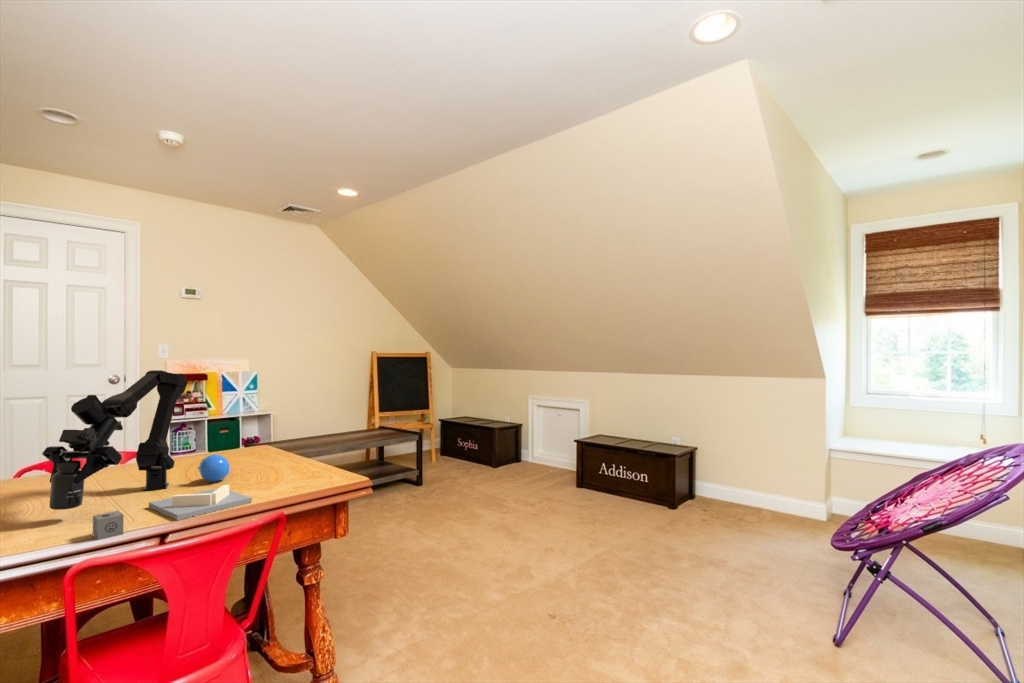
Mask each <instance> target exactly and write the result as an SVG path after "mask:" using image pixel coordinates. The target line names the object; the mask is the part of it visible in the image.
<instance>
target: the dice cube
mask: <svg viewBox="0 0 1024 683" xmlns="http://www.w3.org/2000/svg"><path fill="white" fill-rule="evenodd" d="M124 517H125V516H124V513H122V512H120V511H119V510H115V511H110V512H106V513H105V512H104V513H99V514H95V515H92V536H93V535H94V536H95V537H96V538H97V539H98V540H97V539H96V538H95V537H94V536H93V537H94V538H95V539H96V540H97V541H100V540H106V539H109V538H114V537H117V536H122V535H124Z"/></svg>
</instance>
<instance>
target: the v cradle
mask: <svg viewBox="0 0 1024 683" xmlns="http://www.w3.org/2000/svg"><path fill="white" fill-rule="evenodd" d="M249 502H252V503H253V498H252V496H248V495H245V494H242V493H239V492H236V491H233V490H230V484H223V485H221V486H220V487H217V488H212V489H207V490H202V491H197V492H193V493H188V494H174V495H173V496H172V497H169V498H164V499H160V500H159V499H158V500H155V501H154V500H153V501H149V502H148V508H149V509H151V508H152V509H151V510H153V509H154V510H153V511H155V510H156V511H155V512H157V511H158V513H159V512H160V513H159V514H161V515H164V514H165V515H164V516H166V515H167V516H166V517H168V516H169V517H168V518H170V517H172V518H171V519H173V518H174V519H173V520H175V519H176V520H175V521H177V520H178V521H181V520H180V519H182V520H185V519H184V518H187V517H191V518H193V517H192V516H195V517H197V516H196V515H199V516H201V515H200V514H203V515H205V514H204V513H207V514H210V513H209V512H211V513H214V512H213V511H215V512H218V511H217V510H219V511H222V510H221V509H224V510H227V509H226V508H228V509H230V507H232V508H234V507H235V506H236V507H239V506H238V505H240V506H242V505H241V504H244V505H246V504H245V503H248V504H250V503H249ZM236 507H235V508H236ZM187 519H188V518H187Z"/></svg>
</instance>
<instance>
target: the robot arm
mask: <svg viewBox="0 0 1024 683" xmlns="http://www.w3.org/2000/svg"><path fill="white" fill-rule="evenodd" d="M188 381H189V380H188V378H187V377H186V376H185V374H183V373H174V372H168V371H165V370H159V369H158V370H155V369H154V370H151V369H150V370H149V371H146V373H145V374H144V375H143V376H142V377H141V378H139V379H138V380H137V381H136V382H134V383H133V384H132V385H130V386H129V387H128V388H127V389H125V391H122V392H121V393H118V394H114V395H112V396H109V397H108V398H105V399H104V400H103V401H102V402H101V400H100V399H99V397H98V396H97V395H95V394H88V395H87V396H86V397H84V398H81V399H79V400H78V401H76V402H74V403H73V405H72V406H71V409H70V411H71V412H72V413H73V414H74V416H76V417H77V418H78V419H79V420H80V421H81V422H82V423H83V424H85V425H87V426H89V427H87V428H86V427H85V428H83V430H82V429H63V430H62V432H61V434H60V437H59V440H58V442H59V443H65V444H67V445H68V447H69V448H70V449H72V450H68V449H67V448H66V447H64V446H63V445H62V446H61V445H60V446H59V445H58V446H53V445H51V446H47V447H46V448H45V449H44V450H43V451H42V453H41V454H42V456H44V458H46V459H47V460H48V461H50V462H51V463H52V466H53V467H52V471H51V473H50V479H49V483H50V484H51V479H52V476H53V475H54V474H55V473H57V472H58V470H57V466H58V463H59V462H63V461H74V460H75V459H78V460H85V463H84V464H83V467H81V468H80V470H81V471H80V472H79V474H78V475H77V477H76V479H75V481H74V482H75V483H80V482H81V481H83V480H84V481H85V480H86V479H88V478H89V477H91V476H92V475H94V474H96V473H97V472H100V471H101V470H103V469H106V468H108V467H110V466H118V465H119V464H120V462H121V461H122V458H123V457H122V454H121V453H120V452H119V451H118V450H117V449H116V448H115V447H114V446H111V445H110V443H111V442H109V439H110V438H111V436H112V435H113V434H114V432H115V431H123V428H124V427H123V425H122V421H120V420H118V419H116V418H119V419H120V418H129V417H130V416H132V414H133V413H134V411H135V410H136V409H137V408H138V402H140V401H141V400H142V399H143V398H144V397H145V396H147V394H149V393H150V392H151V391H152V390H154V389H155V388H156V391H157V393H158V396H159V398H158V403H157V406H156V410H155V413H154V418H153V422H152V425H151V428H150V431H149V434H148V438H147V439H146V441H144V442H140V443H139V444H138V447H137V451H136V453H135V456H136V457H135V460H136V461H135V462H136V464H137V467H138V470H139V472H141V471H145V486H144V488H143V489H142V492H144V491H145V492H146V491H153V490H163V489H167V488H168V486H169V485H170V482H167V481H168V480H167V473H168V471H169V470H172V469H173V468H174V467H175V460H174V459H173V458H172V457H171V455H169V452H170V447H169V445H168V443H167V437H168V435H169V434H168V433H169V429H170V426H171V423H172V419H173V415H174V411H175V407H176V403H177V400H178V399H179V398H180V397H181V396H182V395H183V394H184V392H185V391H186V388H187V385H188ZM73 459H74V460H73Z"/></svg>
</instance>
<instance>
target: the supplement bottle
mask: <svg viewBox="0 0 1024 683" xmlns="http://www.w3.org/2000/svg"><path fill="white" fill-rule="evenodd" d="M81 469H82V461H81V460H72V461H63V462H59V463H58V466H57V470H58V472H57V473H55V474H54V475H53V476H52V479H51V483H50V494H49V508H50V509H51V510H54V511H55V510H56V511H60V510H69V509H75V508H78V507H80V506H81V505H82V504H83V499H84V491H85V490H84V489H85V487H84V486H85V479H84V480H83V481H81V482H80V483H75V482H74V481H75V479H76V477H77V475H78V474H79V472H80V471H81Z"/></svg>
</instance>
